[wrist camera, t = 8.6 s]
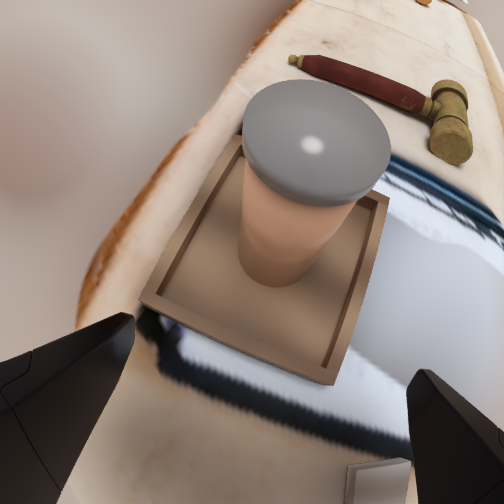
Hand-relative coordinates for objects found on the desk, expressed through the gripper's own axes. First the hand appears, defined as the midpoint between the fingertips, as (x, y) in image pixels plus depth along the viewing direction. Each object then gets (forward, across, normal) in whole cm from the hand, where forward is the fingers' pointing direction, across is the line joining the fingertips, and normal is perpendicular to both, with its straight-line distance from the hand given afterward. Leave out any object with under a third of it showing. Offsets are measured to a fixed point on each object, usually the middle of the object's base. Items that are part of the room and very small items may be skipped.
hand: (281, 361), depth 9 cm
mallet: (+1, -10, +15) cm, 18 cm away
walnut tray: (+14, 0, +2) cm, 14 cm away
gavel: (+28, -8, -12) cm, 32 cm away
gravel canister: (+13, 0, +2) cm, 13 cm away
